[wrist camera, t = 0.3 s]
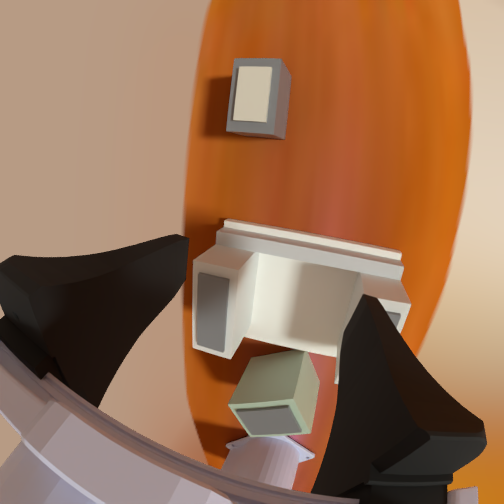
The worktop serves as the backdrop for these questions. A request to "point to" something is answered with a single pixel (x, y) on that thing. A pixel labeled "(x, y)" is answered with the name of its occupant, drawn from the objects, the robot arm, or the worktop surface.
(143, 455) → the robot arm
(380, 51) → the worktop surface
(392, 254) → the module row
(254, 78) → the block
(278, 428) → the green module
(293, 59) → the worktop surface
